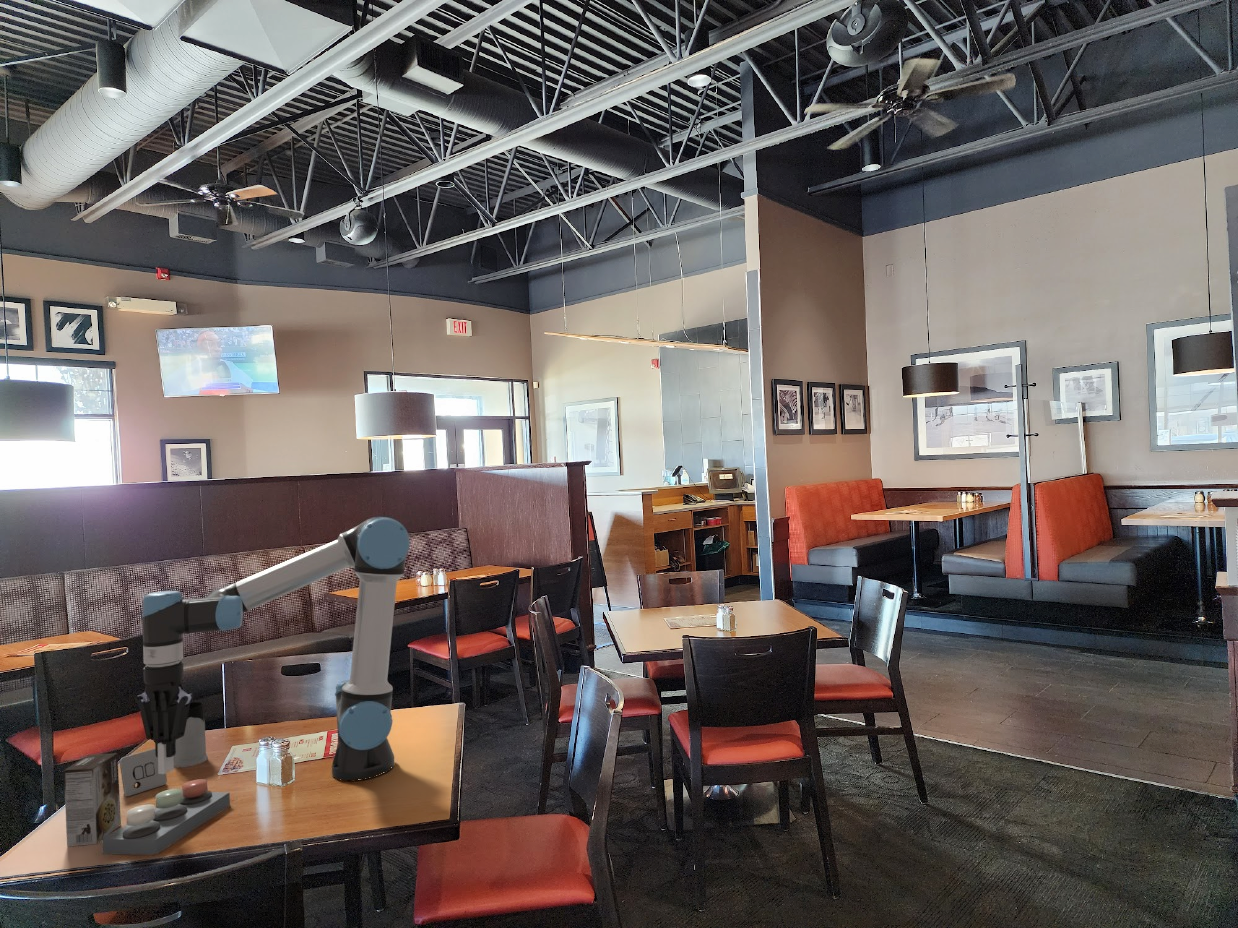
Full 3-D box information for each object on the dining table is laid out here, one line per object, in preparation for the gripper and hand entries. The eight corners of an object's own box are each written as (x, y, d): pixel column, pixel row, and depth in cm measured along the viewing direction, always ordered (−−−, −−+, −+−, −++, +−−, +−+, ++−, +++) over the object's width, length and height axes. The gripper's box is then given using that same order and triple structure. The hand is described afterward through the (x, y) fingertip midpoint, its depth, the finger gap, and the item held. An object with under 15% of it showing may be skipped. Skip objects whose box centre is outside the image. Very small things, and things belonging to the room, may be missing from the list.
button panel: (230, 805, 177) (229, 789, 177) (155, 854, 154) (154, 837, 154) (183, 804, 178) (182, 789, 178) (102, 853, 156) (102, 836, 156)
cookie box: (91, 827, 169) (88, 753, 169) (122, 824, 169) (119, 751, 169) (65, 847, 160) (61, 769, 160) (97, 844, 160) (94, 767, 160)
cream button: (160, 814, 160) (160, 804, 160) (142, 825, 155) (142, 814, 155) (139, 814, 161) (139, 804, 161) (120, 825, 156) (120, 814, 156)
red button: (212, 788, 176) (212, 778, 176) (197, 797, 171) (197, 787, 171) (192, 788, 177) (192, 778, 177) (177, 797, 172) (176, 787, 172)
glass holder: (174, 770, 201) (171, 713, 202) (165, 756, 212) (163, 702, 213) (211, 760, 207) (208, 705, 207) (200, 748, 218) (198, 695, 218)
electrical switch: (125, 798, 184) (122, 758, 185) (118, 795, 187) (115, 756, 188) (168, 784, 192) (165, 747, 192) (159, 782, 195) (157, 745, 195)
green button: (187, 798, 168) (187, 788, 168) (171, 808, 163) (170, 798, 163) (167, 798, 169) (167, 788, 169) (150, 808, 164) (149, 797, 164)
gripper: (123, 666, 165) (126, 777, 164) (176, 667, 162) (179, 779, 162) (150, 658, 172) (153, 764, 172) (202, 659, 170) (204, 765, 169)
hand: (166, 771), depth 167 cm, fingers closed
